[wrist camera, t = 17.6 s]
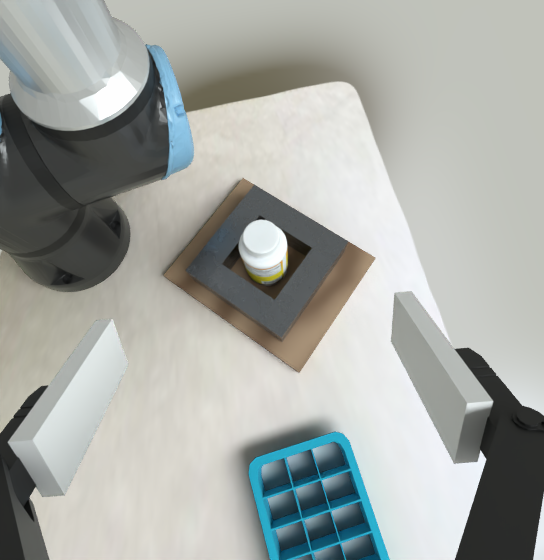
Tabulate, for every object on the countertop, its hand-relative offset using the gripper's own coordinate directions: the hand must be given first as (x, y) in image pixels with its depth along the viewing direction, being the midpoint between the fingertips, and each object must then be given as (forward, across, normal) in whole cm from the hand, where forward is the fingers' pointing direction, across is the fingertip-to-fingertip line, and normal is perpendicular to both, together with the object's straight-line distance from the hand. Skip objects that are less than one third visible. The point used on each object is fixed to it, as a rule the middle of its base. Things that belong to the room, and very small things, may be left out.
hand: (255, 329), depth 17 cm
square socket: (+30, 0, -12) cm, 33 cm away
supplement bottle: (+30, 0, -11) cm, 32 cm away
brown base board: (+30, 0, -12) cm, 33 cm away
